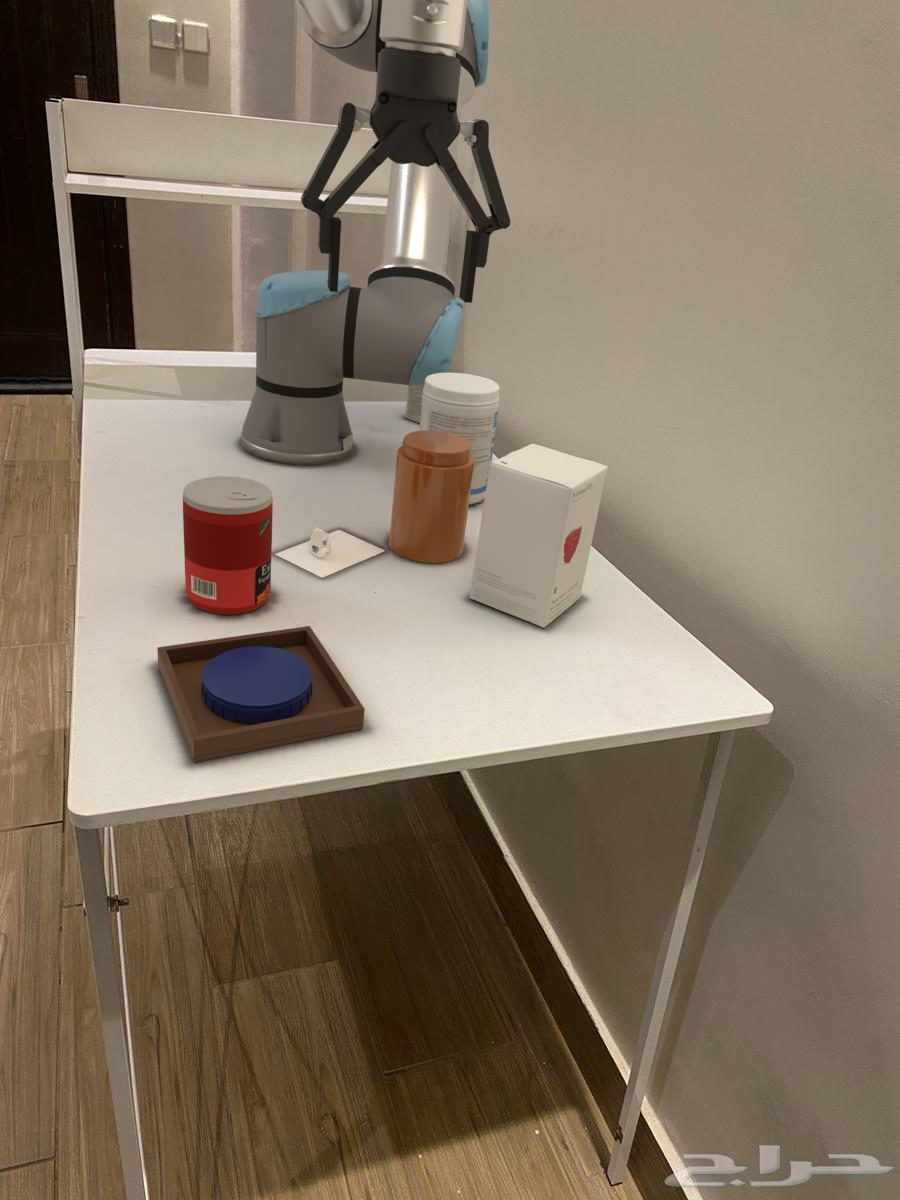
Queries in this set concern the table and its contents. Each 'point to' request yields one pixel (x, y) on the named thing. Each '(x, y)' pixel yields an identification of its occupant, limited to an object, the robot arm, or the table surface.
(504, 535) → the rectangular carton
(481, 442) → the supplement tub
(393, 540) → the jar
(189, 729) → the tray
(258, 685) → the lid
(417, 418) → the cosmetics bottle
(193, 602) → the canned food
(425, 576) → the table surface
